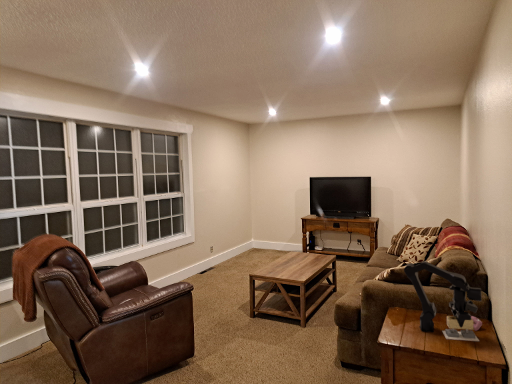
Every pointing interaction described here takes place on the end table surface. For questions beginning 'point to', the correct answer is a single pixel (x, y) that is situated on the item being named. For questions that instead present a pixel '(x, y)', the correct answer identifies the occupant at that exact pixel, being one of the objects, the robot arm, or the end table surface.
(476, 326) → the video game controller
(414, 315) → the end table surface
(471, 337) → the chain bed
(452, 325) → the gold cutout plate
